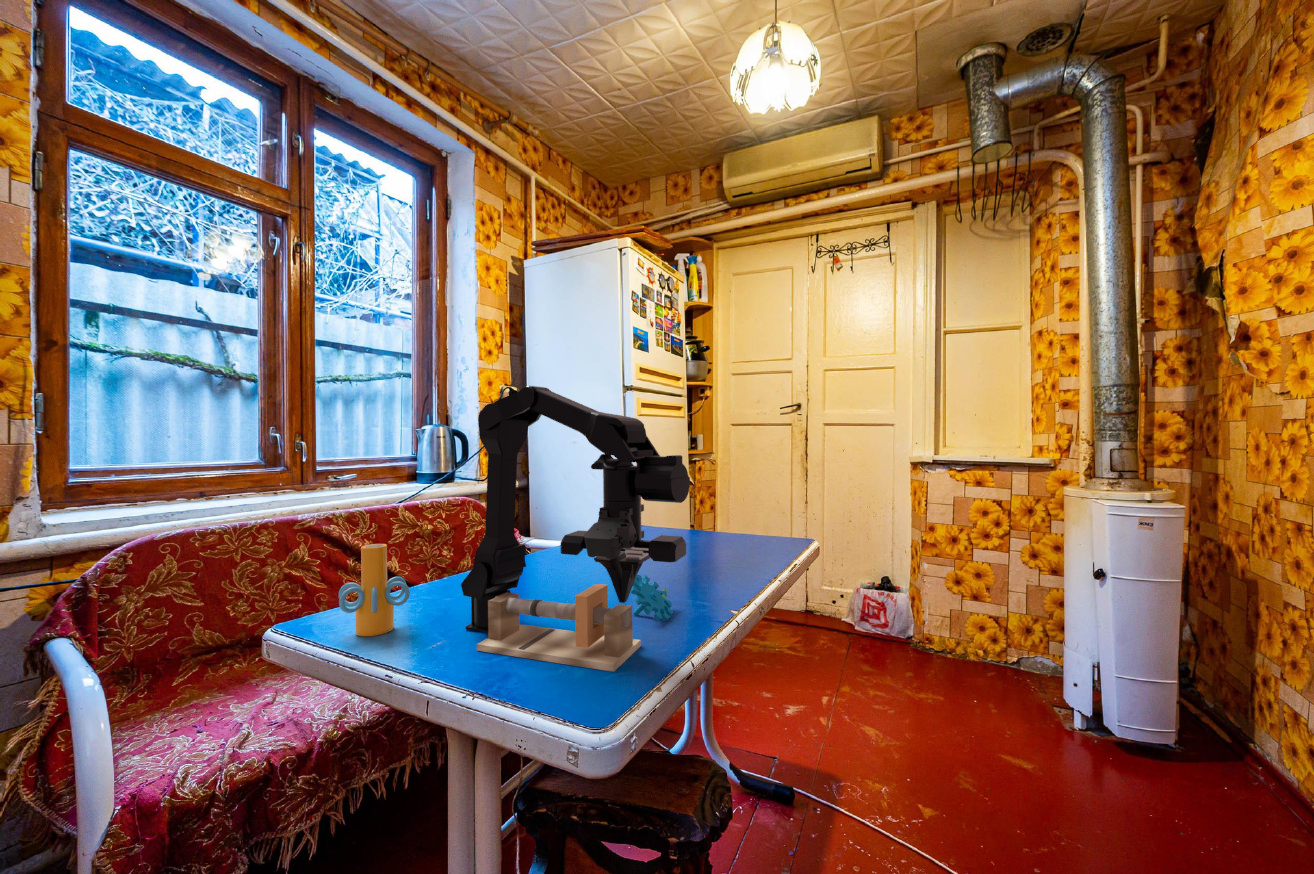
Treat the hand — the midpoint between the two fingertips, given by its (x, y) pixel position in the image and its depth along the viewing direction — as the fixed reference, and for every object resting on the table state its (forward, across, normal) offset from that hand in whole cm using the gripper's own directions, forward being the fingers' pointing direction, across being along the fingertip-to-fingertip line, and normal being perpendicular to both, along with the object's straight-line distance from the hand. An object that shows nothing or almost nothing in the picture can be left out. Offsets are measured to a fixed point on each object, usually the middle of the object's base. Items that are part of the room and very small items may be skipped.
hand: (623, 602), depth 81 cm
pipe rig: (+8, -11, 0) cm, 14 cm away
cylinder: (+9, -46, -4) cm, 47 cm away
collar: (+6, -5, 0) cm, 8 cm away
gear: (+9, -3, +19) cm, 21 cm away
